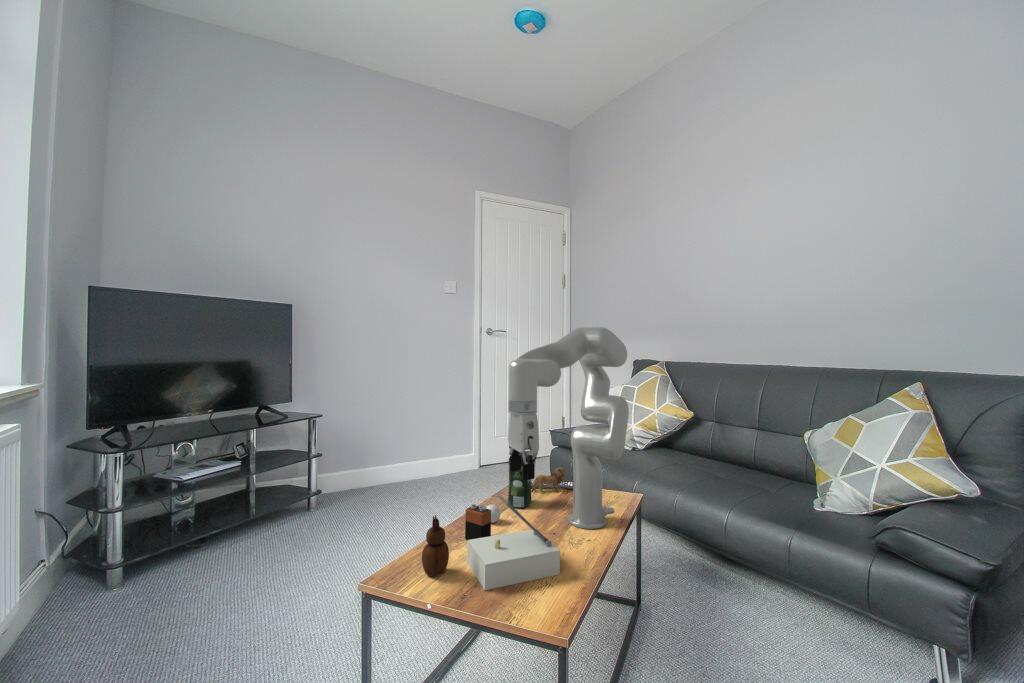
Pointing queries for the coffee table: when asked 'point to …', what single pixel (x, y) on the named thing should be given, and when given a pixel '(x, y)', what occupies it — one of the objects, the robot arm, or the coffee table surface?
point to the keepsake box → (512, 559)
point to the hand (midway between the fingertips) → (521, 474)
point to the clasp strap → (525, 520)
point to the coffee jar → (519, 488)
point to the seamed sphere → (494, 512)
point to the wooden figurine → (435, 550)
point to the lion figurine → (549, 479)
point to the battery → (477, 522)
